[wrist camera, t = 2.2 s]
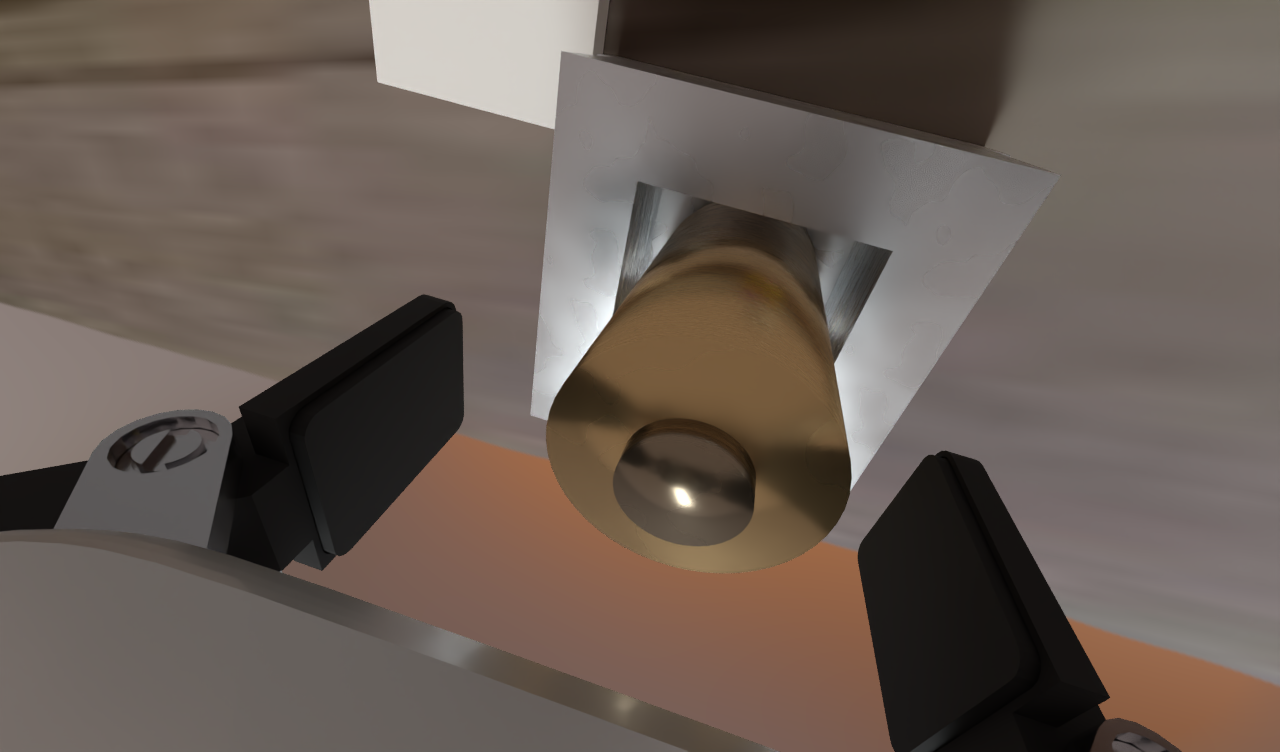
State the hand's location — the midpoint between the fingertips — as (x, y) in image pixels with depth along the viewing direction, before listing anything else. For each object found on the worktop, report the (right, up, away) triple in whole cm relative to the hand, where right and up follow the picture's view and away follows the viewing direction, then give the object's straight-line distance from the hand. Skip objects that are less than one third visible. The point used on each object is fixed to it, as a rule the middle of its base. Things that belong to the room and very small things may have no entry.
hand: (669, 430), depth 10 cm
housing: (+3, +6, +9) cm, 11 cm away
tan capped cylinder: (+3, +5, +7) cm, 9 cm away
